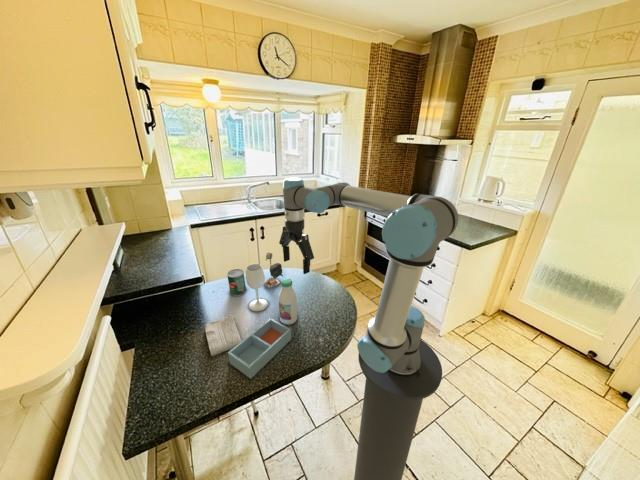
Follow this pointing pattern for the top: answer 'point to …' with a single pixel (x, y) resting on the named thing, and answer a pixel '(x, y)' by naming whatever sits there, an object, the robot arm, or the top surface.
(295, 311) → the milk bottle
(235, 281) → the canned tomato
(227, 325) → the washcloth
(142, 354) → the top surface
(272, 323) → the divided tray
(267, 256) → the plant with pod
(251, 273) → the wineglass
